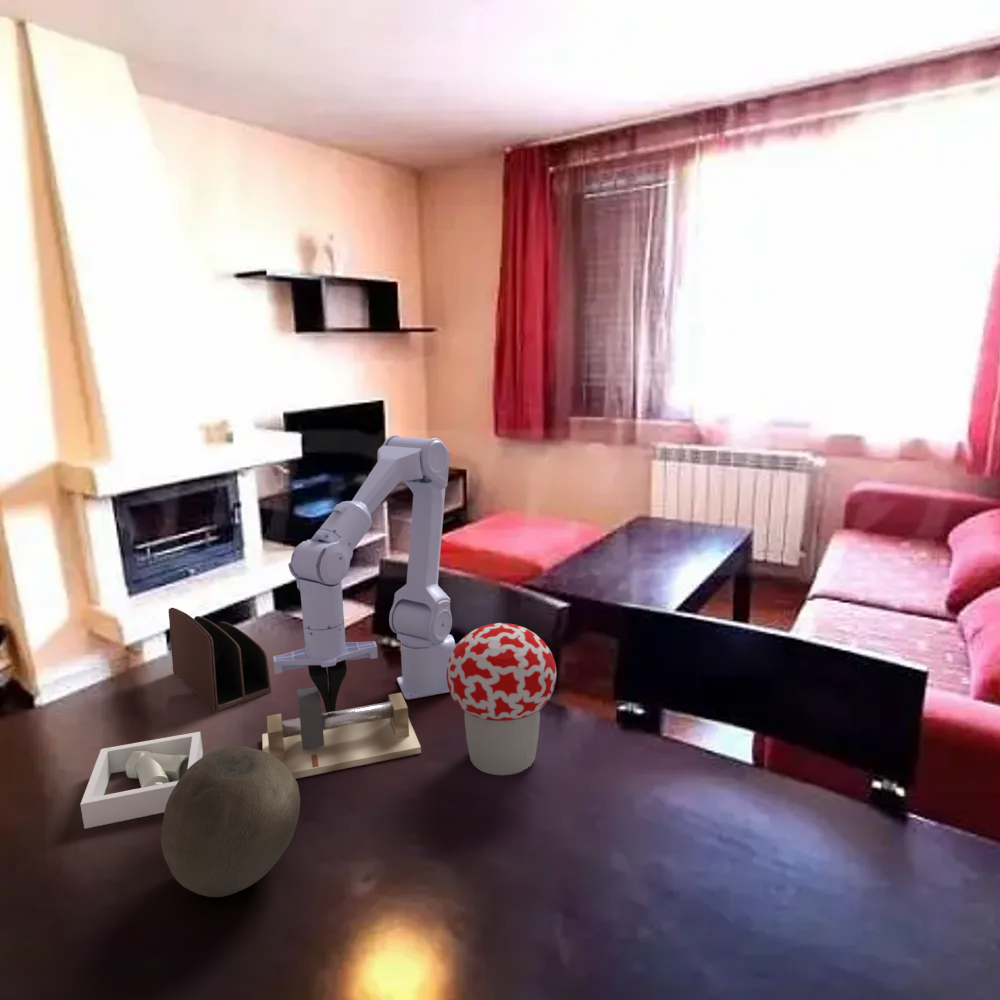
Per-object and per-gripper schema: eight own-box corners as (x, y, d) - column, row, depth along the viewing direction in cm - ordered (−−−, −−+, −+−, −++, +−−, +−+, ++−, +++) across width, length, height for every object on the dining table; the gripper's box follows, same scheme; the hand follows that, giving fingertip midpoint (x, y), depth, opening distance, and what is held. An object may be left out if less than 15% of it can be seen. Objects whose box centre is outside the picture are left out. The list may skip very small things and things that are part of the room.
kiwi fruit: (225, 949, 70) (210, 817, 67) (143, 893, 77) (125, 772, 74) (329, 862, 81) (320, 746, 78) (249, 820, 89) (237, 713, 86)
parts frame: (202, 752, 104) (200, 731, 103) (196, 805, 92) (193, 781, 91) (104, 770, 100) (101, 749, 99) (84, 828, 88) (80, 804, 87)
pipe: (403, 710, 109) (402, 695, 108) (406, 718, 106) (406, 703, 106) (268, 735, 102) (267, 719, 102) (268, 744, 100) (267, 728, 99)
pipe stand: (404, 713, 114) (403, 681, 113) (421, 752, 103) (419, 717, 102) (262, 739, 107) (259, 705, 106) (264, 785, 96) (260, 747, 95)
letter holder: (215, 713, 115) (206, 634, 112) (172, 674, 129) (163, 602, 126) (272, 692, 122) (265, 617, 119) (226, 657, 136) (218, 589, 133)
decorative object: (497, 804, 91) (494, 663, 87) (427, 754, 103) (422, 626, 98) (578, 758, 101) (580, 628, 97) (506, 716, 113) (505, 599, 108)
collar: (321, 728, 106) (317, 686, 105) (324, 746, 101) (320, 702, 100) (300, 731, 105) (296, 689, 104) (302, 750, 100) (299, 706, 99)
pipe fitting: (164, 806, 93) (194, 773, 99) (159, 781, 92) (190, 749, 98) (111, 800, 94) (144, 767, 101) (105, 775, 93) (139, 744, 99)
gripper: (271, 640, 94) (279, 731, 97) (378, 625, 99) (383, 712, 102) (270, 621, 101) (278, 707, 104) (371, 608, 105) (375, 690, 108)
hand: (330, 708), depth 103 cm, fingers closed
